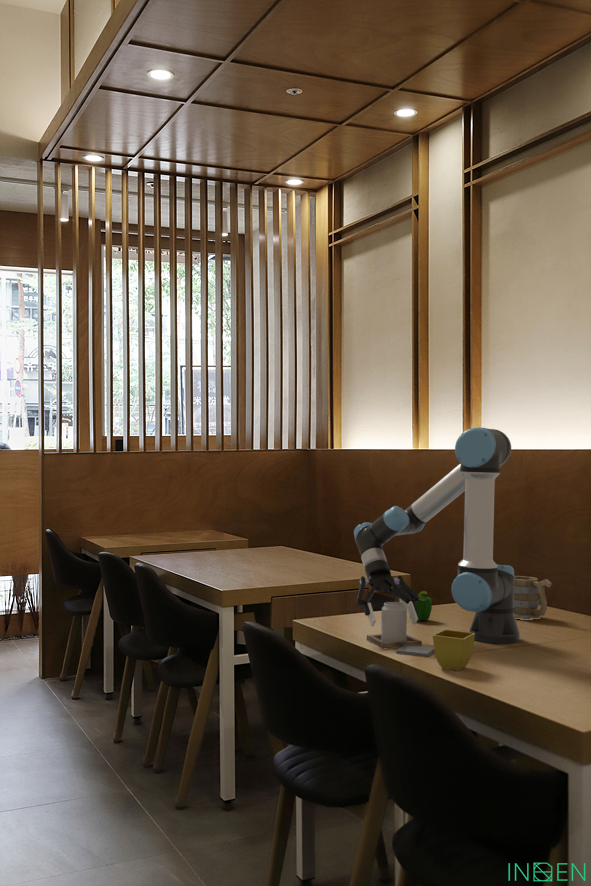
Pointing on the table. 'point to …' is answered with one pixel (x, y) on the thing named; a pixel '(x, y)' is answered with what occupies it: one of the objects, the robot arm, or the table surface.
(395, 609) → the white jar
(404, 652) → the slate coaster
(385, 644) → the walnut frame
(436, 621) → the table surface
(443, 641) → the flower pot
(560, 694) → the table surface
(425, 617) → the bell pepper
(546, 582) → the tankard
